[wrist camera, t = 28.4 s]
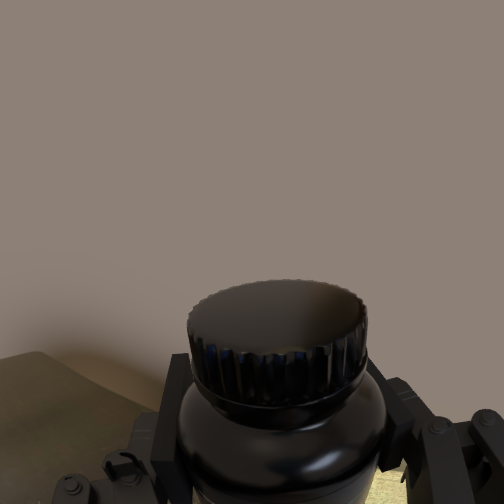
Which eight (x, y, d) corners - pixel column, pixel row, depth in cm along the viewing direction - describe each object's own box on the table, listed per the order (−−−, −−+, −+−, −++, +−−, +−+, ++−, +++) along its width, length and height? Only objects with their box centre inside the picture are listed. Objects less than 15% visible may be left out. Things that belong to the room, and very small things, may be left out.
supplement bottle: (189, 514, 12) (114, 307, 9) (287, 455, 16) (280, 259, 13) (278, 600, 6) (263, 445, 4) (381, 512, 11) (444, 294, 8)
